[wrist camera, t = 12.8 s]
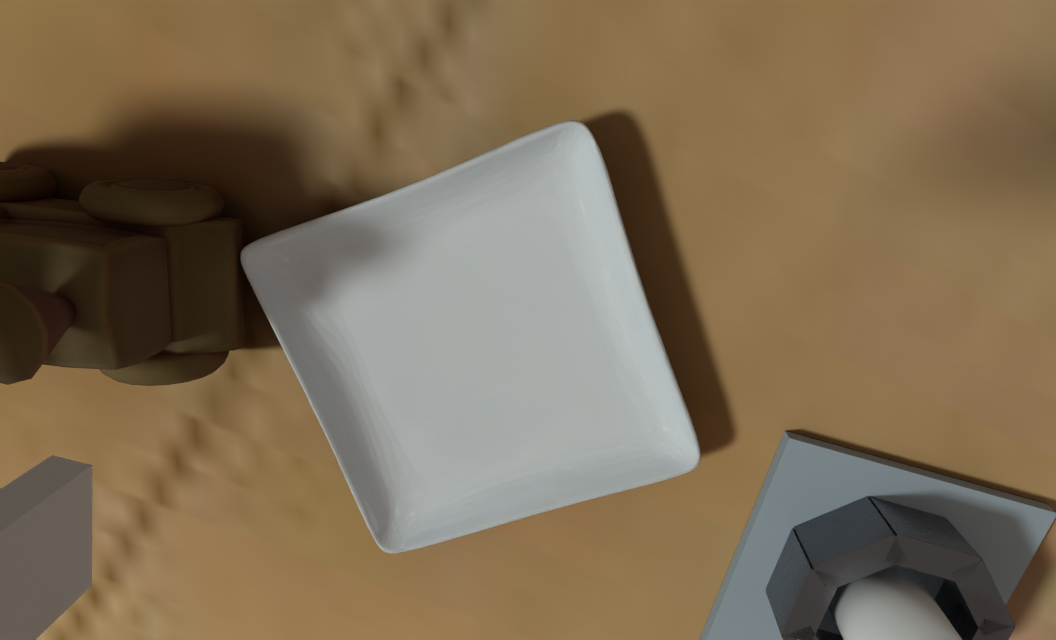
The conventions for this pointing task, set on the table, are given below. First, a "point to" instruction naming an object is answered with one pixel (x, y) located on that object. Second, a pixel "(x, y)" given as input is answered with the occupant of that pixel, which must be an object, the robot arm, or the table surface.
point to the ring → (873, 545)
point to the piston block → (890, 594)
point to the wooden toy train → (117, 278)
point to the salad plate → (479, 343)
